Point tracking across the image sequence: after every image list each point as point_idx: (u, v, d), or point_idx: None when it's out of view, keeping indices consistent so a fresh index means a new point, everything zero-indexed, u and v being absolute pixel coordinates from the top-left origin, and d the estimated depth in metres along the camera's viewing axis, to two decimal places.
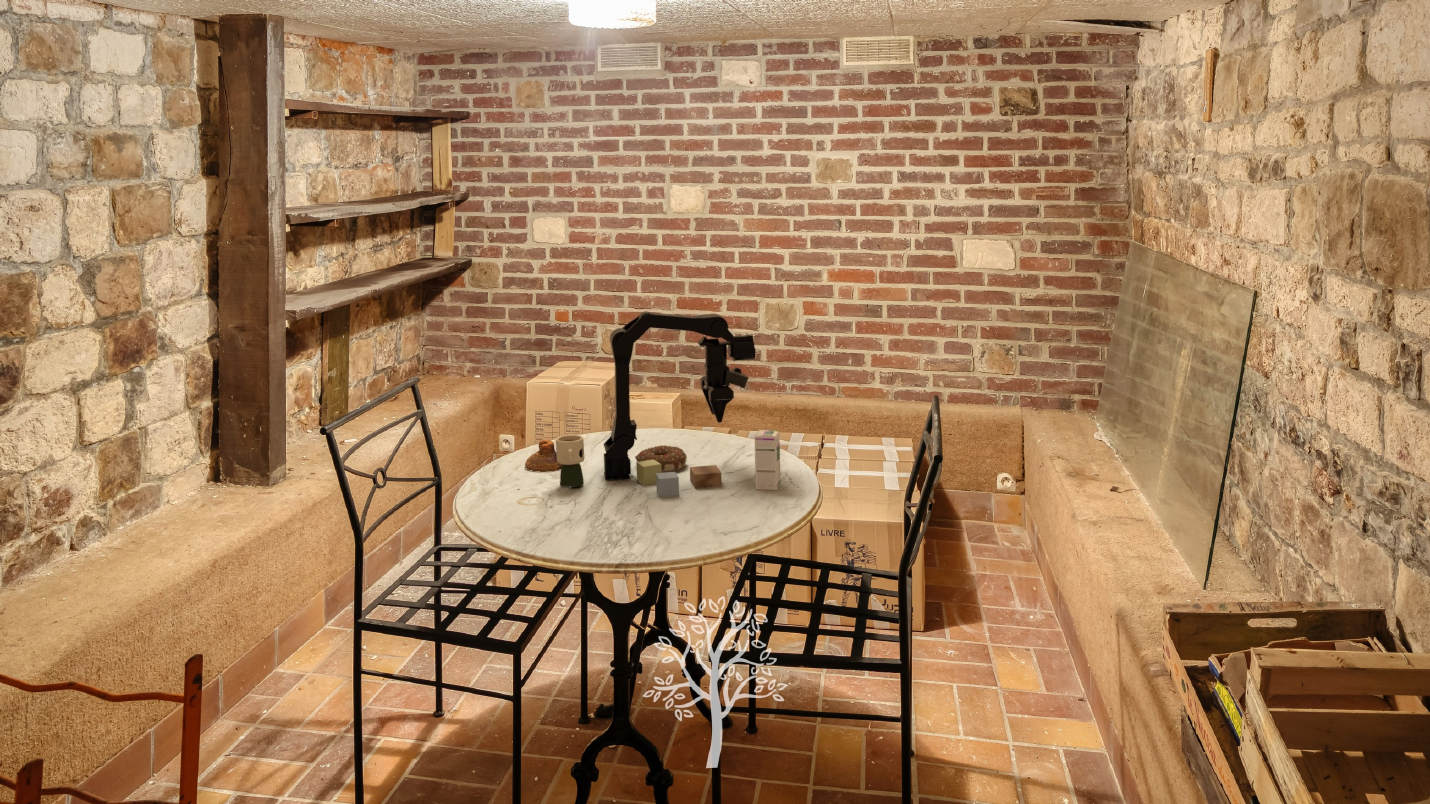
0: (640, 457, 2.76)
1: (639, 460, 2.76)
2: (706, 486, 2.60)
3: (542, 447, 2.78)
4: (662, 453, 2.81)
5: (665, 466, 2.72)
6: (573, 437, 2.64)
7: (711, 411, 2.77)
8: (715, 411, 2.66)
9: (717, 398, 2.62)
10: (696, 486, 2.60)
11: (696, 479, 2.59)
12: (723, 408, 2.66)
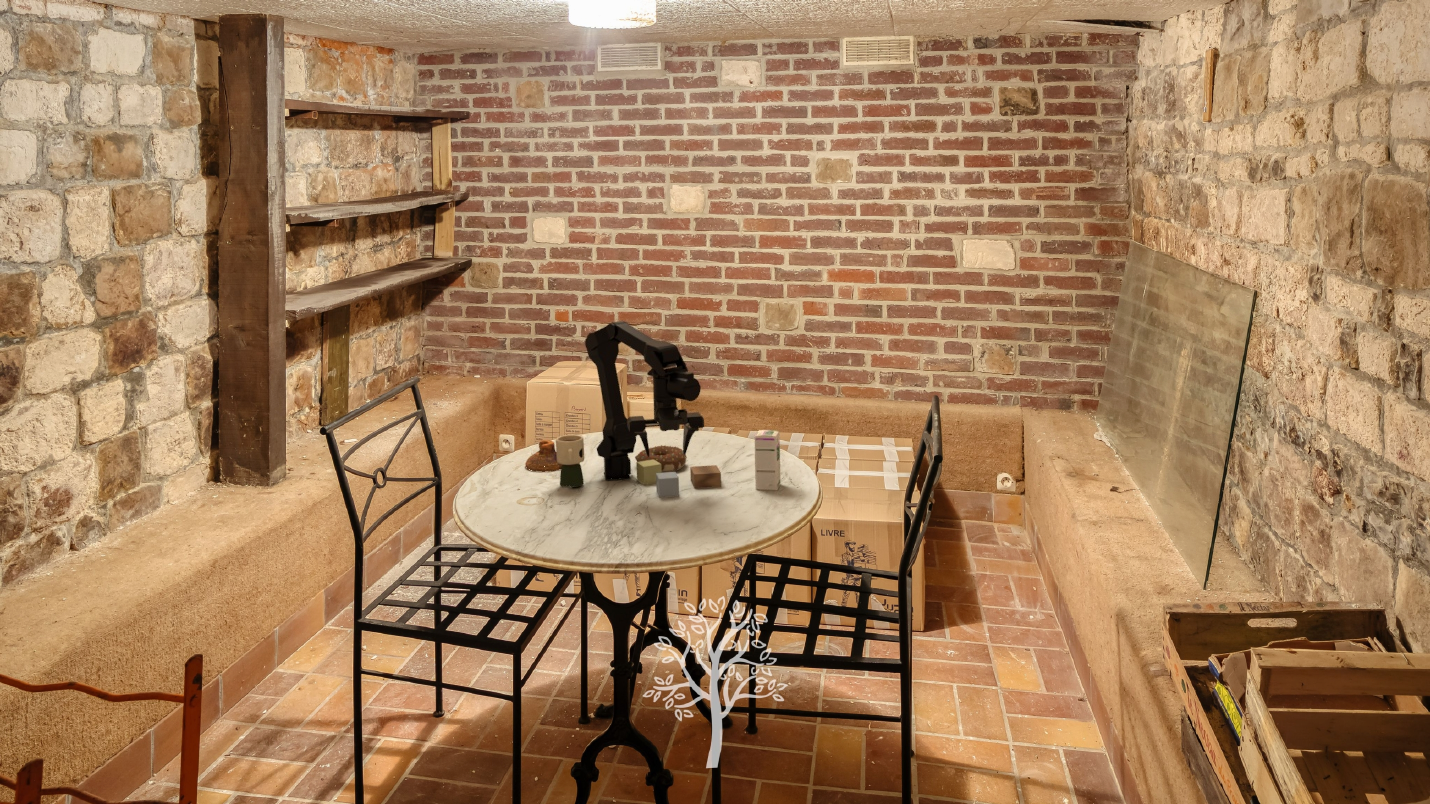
0: (640, 457, 2.76)
1: (639, 460, 2.76)
2: (705, 486, 2.60)
3: (542, 447, 2.78)
4: (662, 453, 2.80)
5: (665, 466, 2.72)
6: (573, 437, 2.64)
7: (683, 449, 2.55)
8: (642, 442, 2.53)
9: (627, 426, 2.52)
10: (695, 486, 2.60)
11: (695, 479, 2.60)
12: None
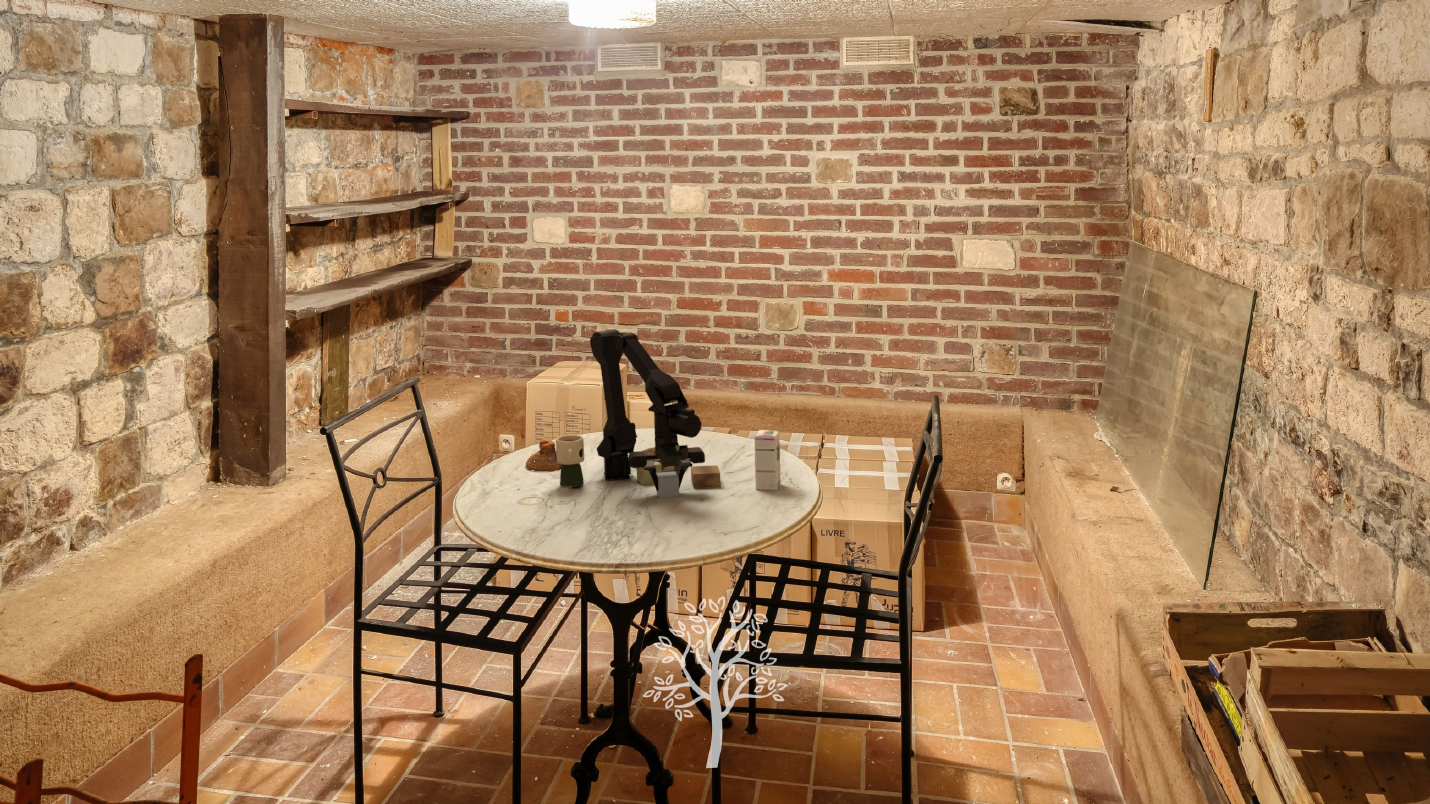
0: None
1: None
2: (705, 486, 2.60)
3: (543, 447, 2.78)
4: None
5: None
6: (573, 437, 2.64)
7: None
8: (651, 476, 2.56)
9: (629, 462, 2.54)
10: (694, 486, 2.60)
11: (694, 479, 2.60)
12: None
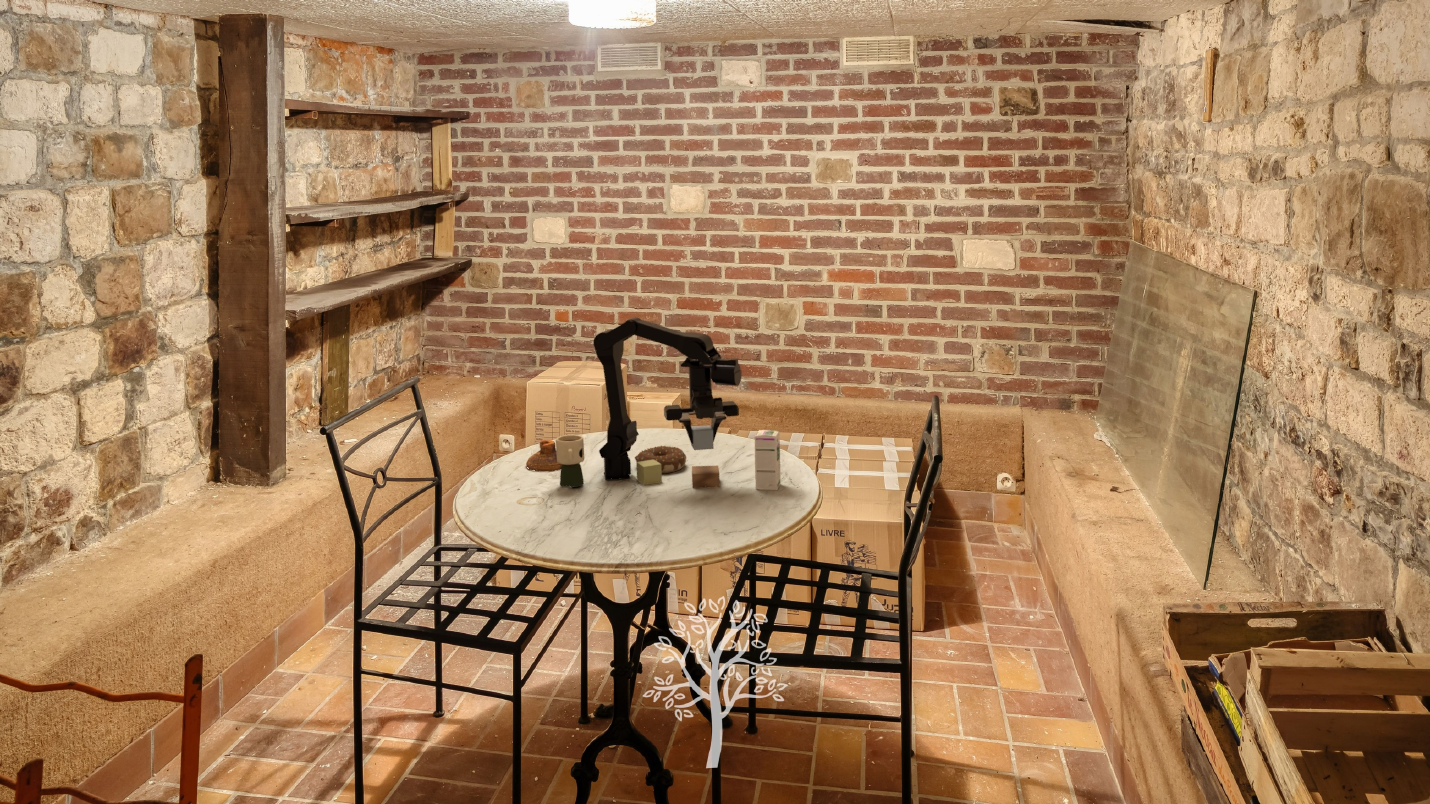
0: (640, 458, 2.75)
1: (639, 461, 2.75)
2: (704, 486, 2.60)
3: (543, 447, 2.78)
4: (662, 453, 2.80)
5: (664, 466, 2.72)
6: (573, 437, 2.64)
7: None
8: (686, 430, 2.60)
9: (664, 415, 2.58)
10: (694, 485, 2.60)
11: (694, 478, 2.60)
12: None
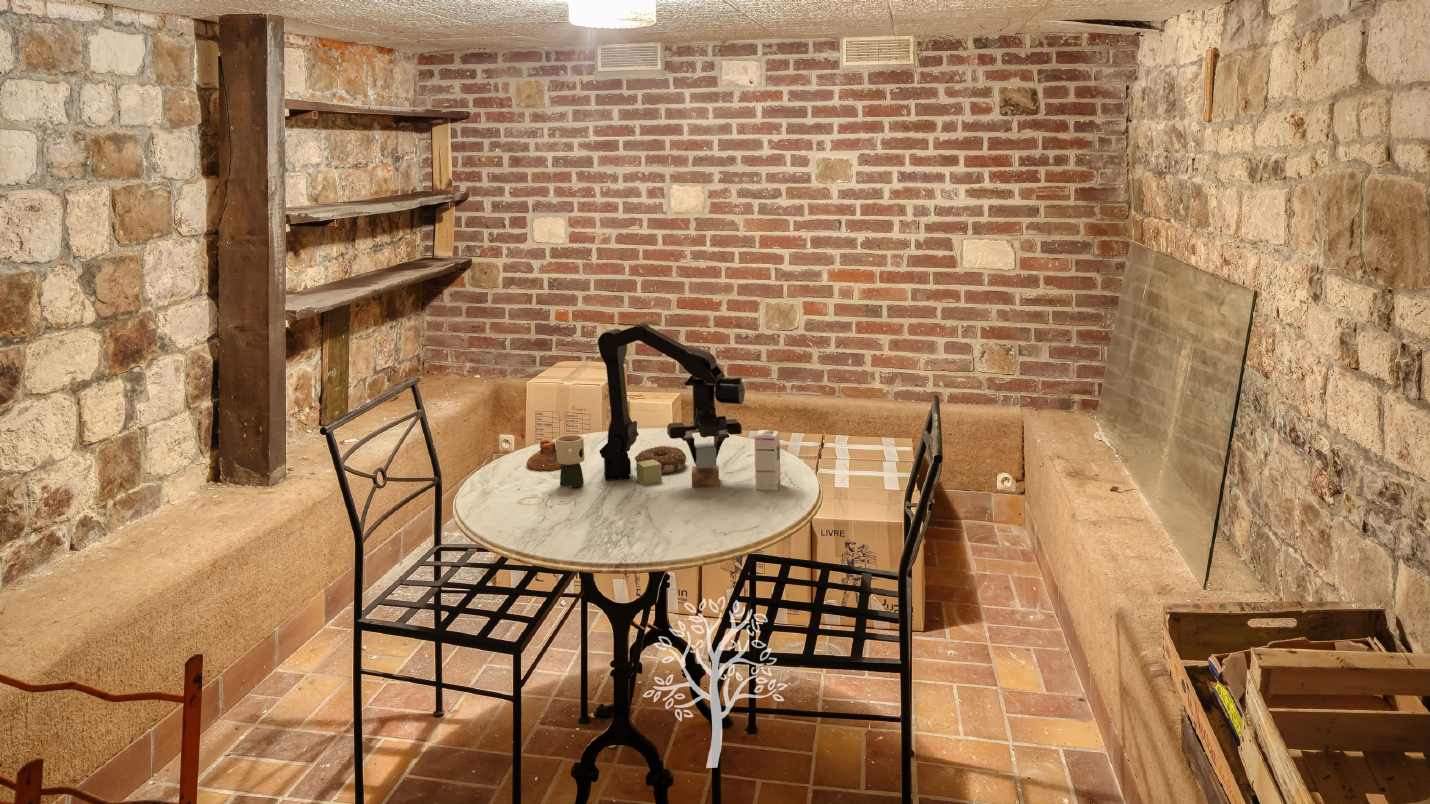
0: (640, 458, 2.75)
1: (639, 461, 2.75)
2: (703, 486, 2.60)
3: (543, 447, 2.78)
4: (662, 454, 2.80)
5: (664, 466, 2.72)
6: (573, 437, 2.64)
7: None
8: (689, 447, 2.62)
9: (668, 433, 2.60)
10: (693, 485, 2.60)
11: (693, 478, 2.60)
12: None
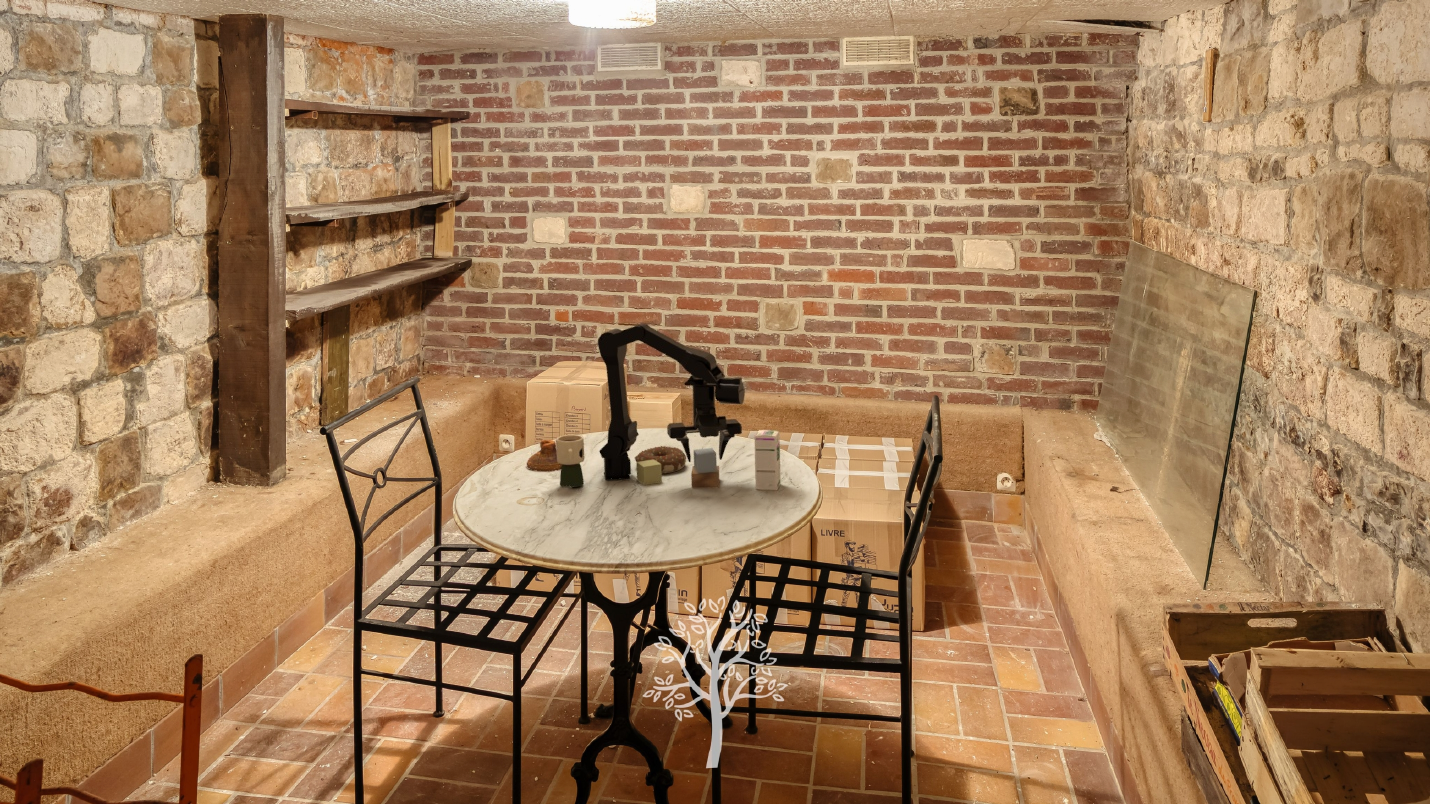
0: (639, 458, 2.75)
1: (638, 461, 2.75)
2: (703, 486, 2.60)
3: (544, 447, 2.78)
4: (662, 454, 2.80)
5: (664, 467, 2.71)
6: (573, 437, 2.64)
7: (719, 455, 2.64)
8: None
9: (668, 433, 2.60)
10: (693, 485, 2.61)
11: (693, 478, 2.60)
12: None
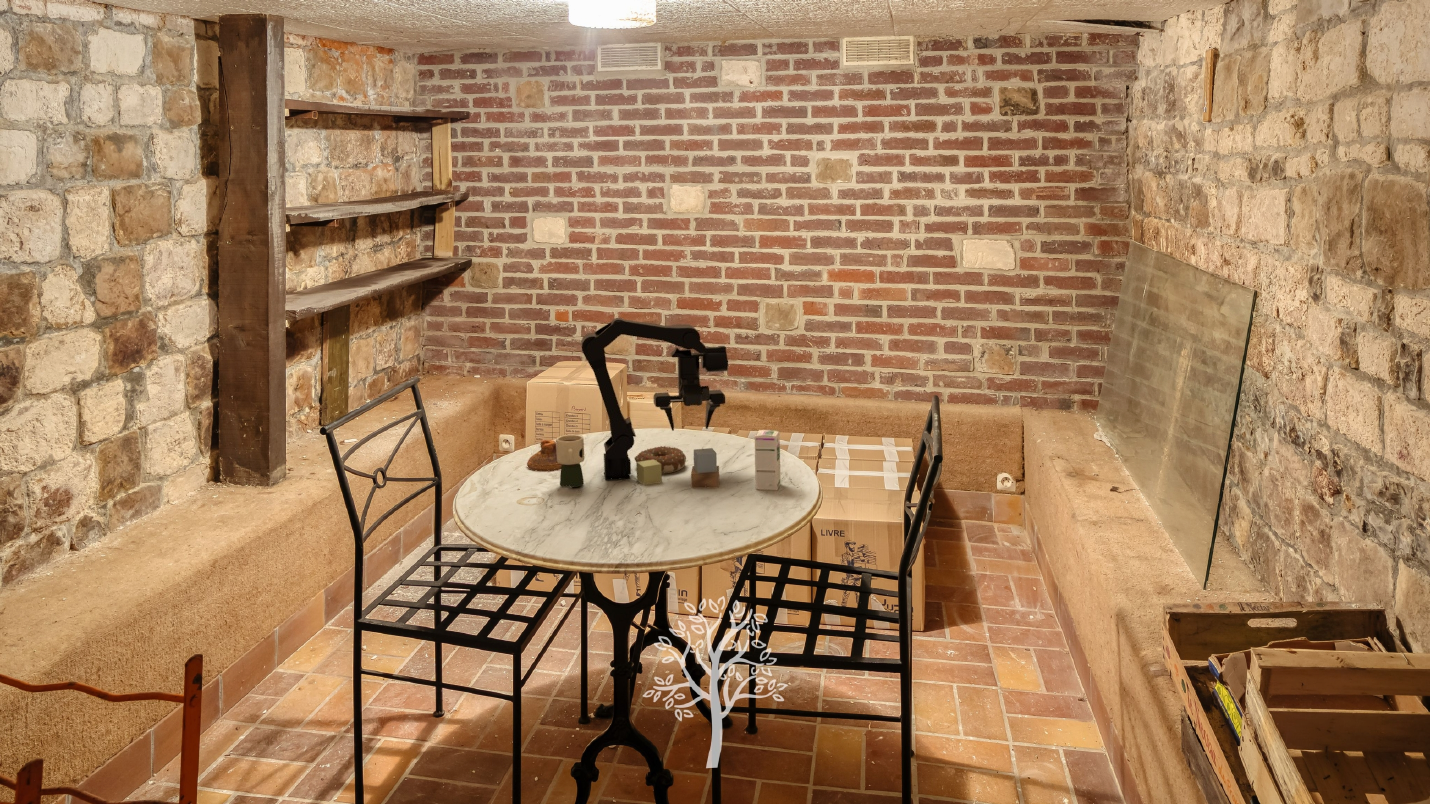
0: (639, 458, 2.75)
1: (638, 461, 2.75)
2: (702, 486, 2.60)
3: (544, 447, 2.78)
4: (661, 454, 2.80)
5: (664, 467, 2.71)
6: (573, 437, 2.64)
7: (705, 424, 2.73)
8: None
9: (654, 402, 2.69)
10: (692, 485, 2.61)
11: (692, 478, 2.60)
12: None
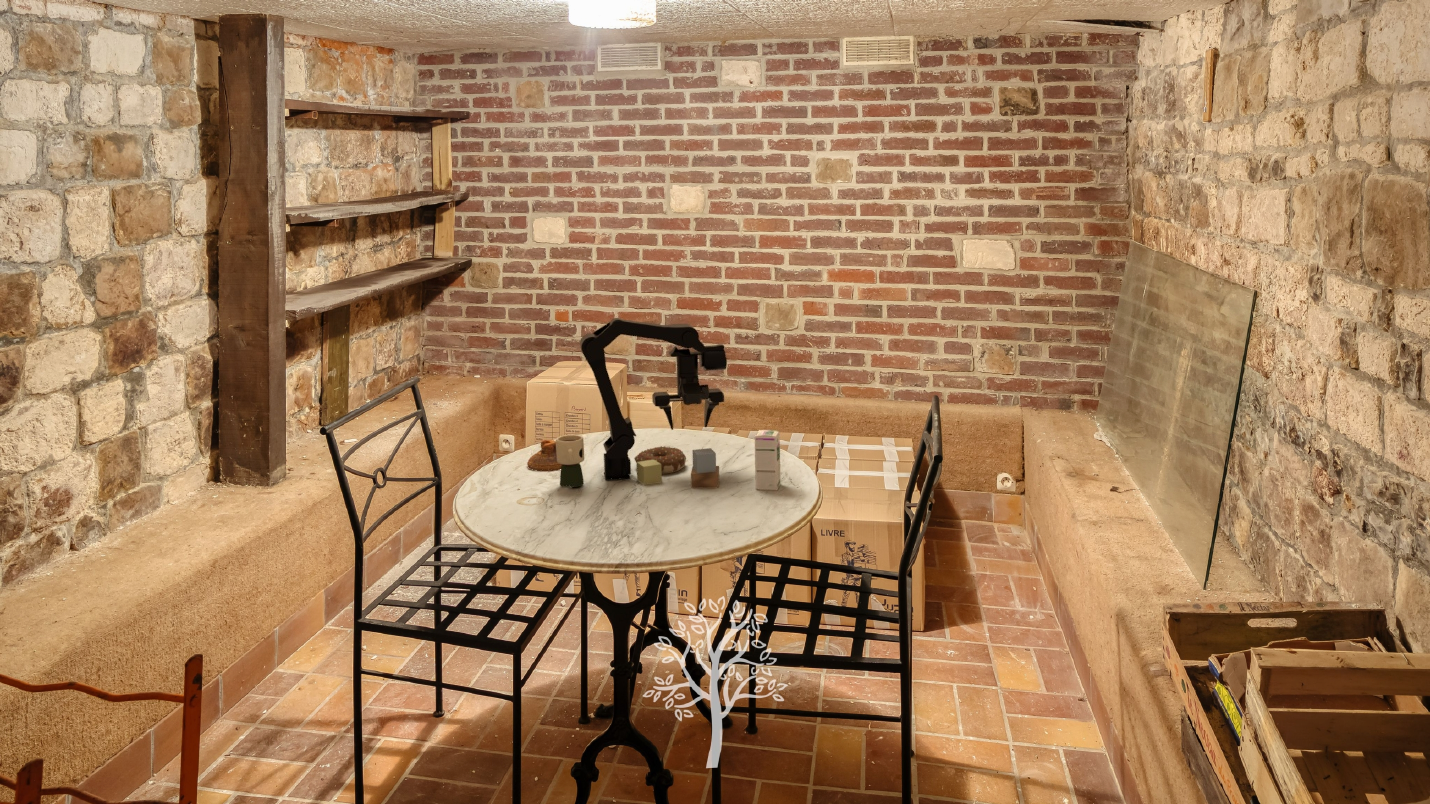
0: (639, 458, 2.75)
1: (638, 461, 2.75)
2: (702, 486, 2.60)
3: (544, 446, 2.78)
4: (661, 454, 2.80)
5: (664, 467, 2.71)
6: (573, 437, 2.64)
7: (704, 423, 2.74)
8: None
9: (653, 401, 2.70)
10: (692, 485, 2.61)
11: (692, 478, 2.60)
12: None
